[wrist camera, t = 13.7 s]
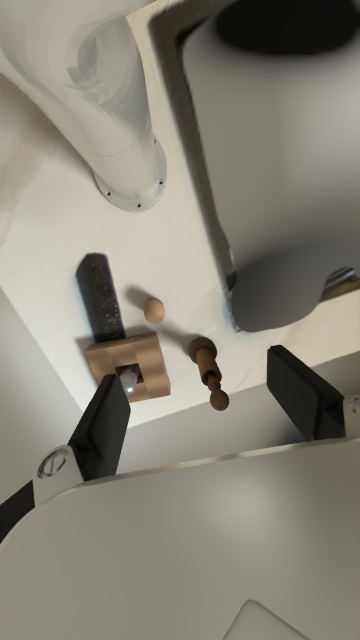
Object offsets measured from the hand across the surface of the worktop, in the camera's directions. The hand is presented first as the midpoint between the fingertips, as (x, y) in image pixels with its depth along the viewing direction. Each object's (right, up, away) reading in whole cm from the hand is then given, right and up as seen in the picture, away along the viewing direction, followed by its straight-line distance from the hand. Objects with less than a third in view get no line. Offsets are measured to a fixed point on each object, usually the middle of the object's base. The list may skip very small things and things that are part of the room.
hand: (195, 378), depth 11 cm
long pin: (-13, -8, +33) cm, 37 cm away
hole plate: (-13, -8, +33) cm, 37 cm away
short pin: (-7, +6, +28) cm, 30 cm away
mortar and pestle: (+4, -4, +33) cm, 33 cm away
